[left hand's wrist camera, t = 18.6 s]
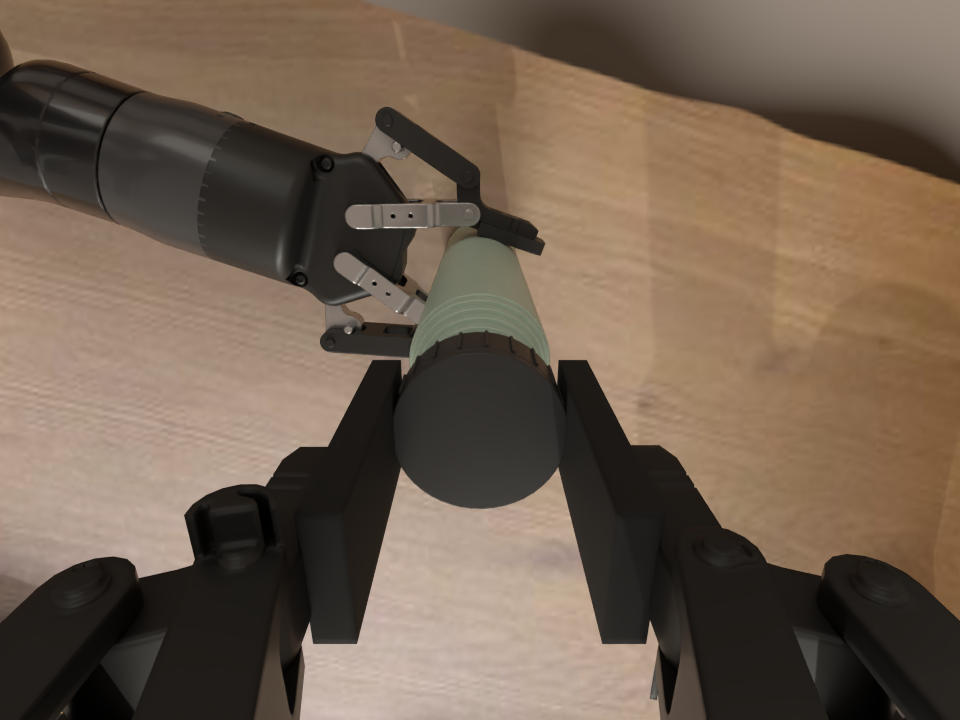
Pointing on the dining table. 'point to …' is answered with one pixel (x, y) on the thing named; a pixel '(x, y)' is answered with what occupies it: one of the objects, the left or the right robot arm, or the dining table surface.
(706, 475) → the dining table surface
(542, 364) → the cap
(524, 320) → the bottle
